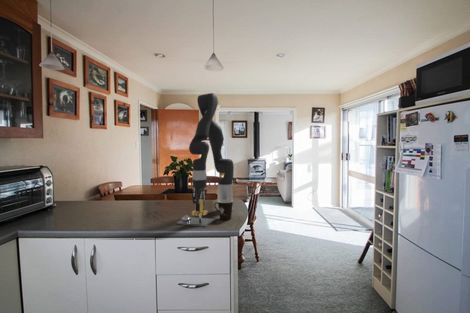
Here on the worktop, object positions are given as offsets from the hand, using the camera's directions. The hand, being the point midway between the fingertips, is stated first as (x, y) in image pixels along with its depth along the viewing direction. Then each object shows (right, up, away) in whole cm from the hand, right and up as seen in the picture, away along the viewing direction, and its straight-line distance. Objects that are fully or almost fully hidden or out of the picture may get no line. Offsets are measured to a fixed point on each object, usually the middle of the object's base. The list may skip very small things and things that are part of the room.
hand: (199, 209), depth 150 cm
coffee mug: (+13, -7, +10) cm, 18 cm away
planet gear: (0, -2, 0) cm, 2 cm away
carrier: (-2, -7, +1) cm, 8 cm away
